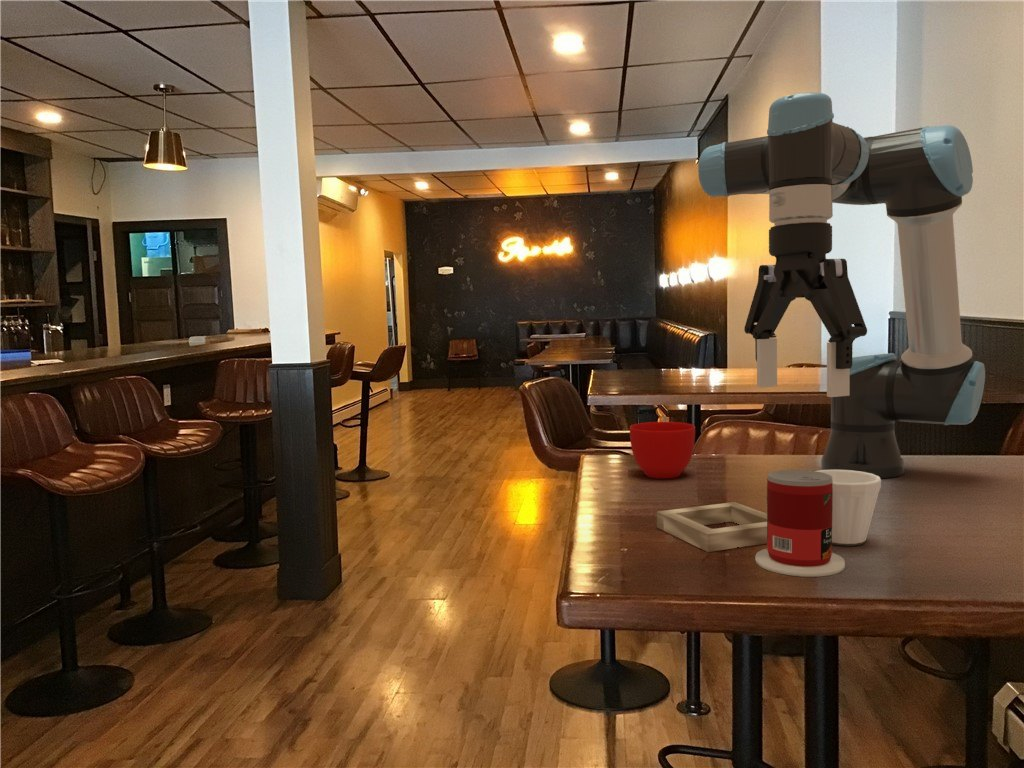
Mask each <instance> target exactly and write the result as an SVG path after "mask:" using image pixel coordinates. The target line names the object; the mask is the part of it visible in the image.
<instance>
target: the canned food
mask: <svg viewBox="0 0 1024 768" xmlns="http://www.w3.org/2000/svg"><path fill="white" fill-rule="evenodd" d="M816 471H817V470H809V469H808V470H805V469H781V470H775V471H771V472H769V473H767V479H766V480H767V481H766V514H767V543H766V546H767V547H766V549H767V550H768V554H769V556H770V558H771V559H773V560H774V561H777V562H779V563H783V564H787V565H793V566H820V565H824V564H826V563H828V562H829V561H830V559H831V556H832V553H833V544H832V502H833V488H832V486H833V481H832V476H830V475H828V474H826V473H822V472H816Z"/></svg>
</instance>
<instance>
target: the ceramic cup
mask: <svg viewBox="0 0 1024 768" xmlns="http://www.w3.org/2000/svg"><path fill="white" fill-rule="evenodd" d="M629 439H630V440H629V441H630V447H631V452H632V455H633V458H634V460H635V462H636V464H637V465H638V467H639V468H640V469H641V471H642V472H643V473H644V474H645V476H647V477H648V478H652V479H664V480H665V479H666V478H667V479H675V478H678V477H680V476H681V474H682V473H683V471H684V470H686V468H687V466H688V465H689V463H690V461H691V459H692V456H693V453H694V447H695V439H696V426H695V425H694V424H691V423H687V422H677V421H648V422H639V423H635V424H631V425H630V426H629Z"/></svg>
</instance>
